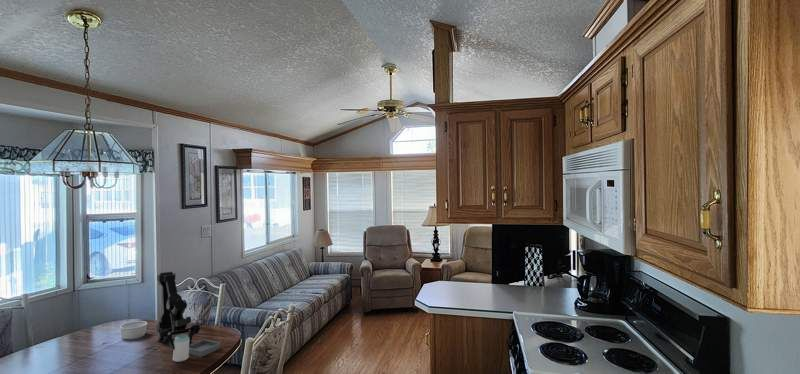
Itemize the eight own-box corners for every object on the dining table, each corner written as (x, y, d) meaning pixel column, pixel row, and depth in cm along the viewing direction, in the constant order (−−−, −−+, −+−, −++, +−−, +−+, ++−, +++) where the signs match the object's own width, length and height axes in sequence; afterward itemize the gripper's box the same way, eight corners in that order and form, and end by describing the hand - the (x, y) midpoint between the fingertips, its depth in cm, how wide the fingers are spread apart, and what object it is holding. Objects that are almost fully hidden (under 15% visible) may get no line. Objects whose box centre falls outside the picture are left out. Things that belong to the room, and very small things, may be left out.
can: (191, 358, 192) (192, 335, 192) (178, 363, 186) (179, 339, 186) (183, 355, 195) (184, 332, 196) (169, 360, 189) (170, 336, 189)
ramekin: (151, 335, 222) (151, 323, 222) (125, 342, 211) (126, 330, 211) (140, 330, 229) (141, 319, 229) (115, 337, 218) (116, 325, 218)
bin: (183, 352, 199) (183, 347, 199) (203, 344, 211) (203, 339, 211) (201, 357, 194) (201, 351, 195) (220, 348, 206) (220, 342, 206)
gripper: (160, 315, 187) (164, 344, 179) (200, 308, 200) (205, 335, 192) (155, 326, 193) (159, 355, 185) (195, 319, 206) (200, 345, 198)
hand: (182, 347), depth 190 cm, fingers closed on can, 7 cm apart
